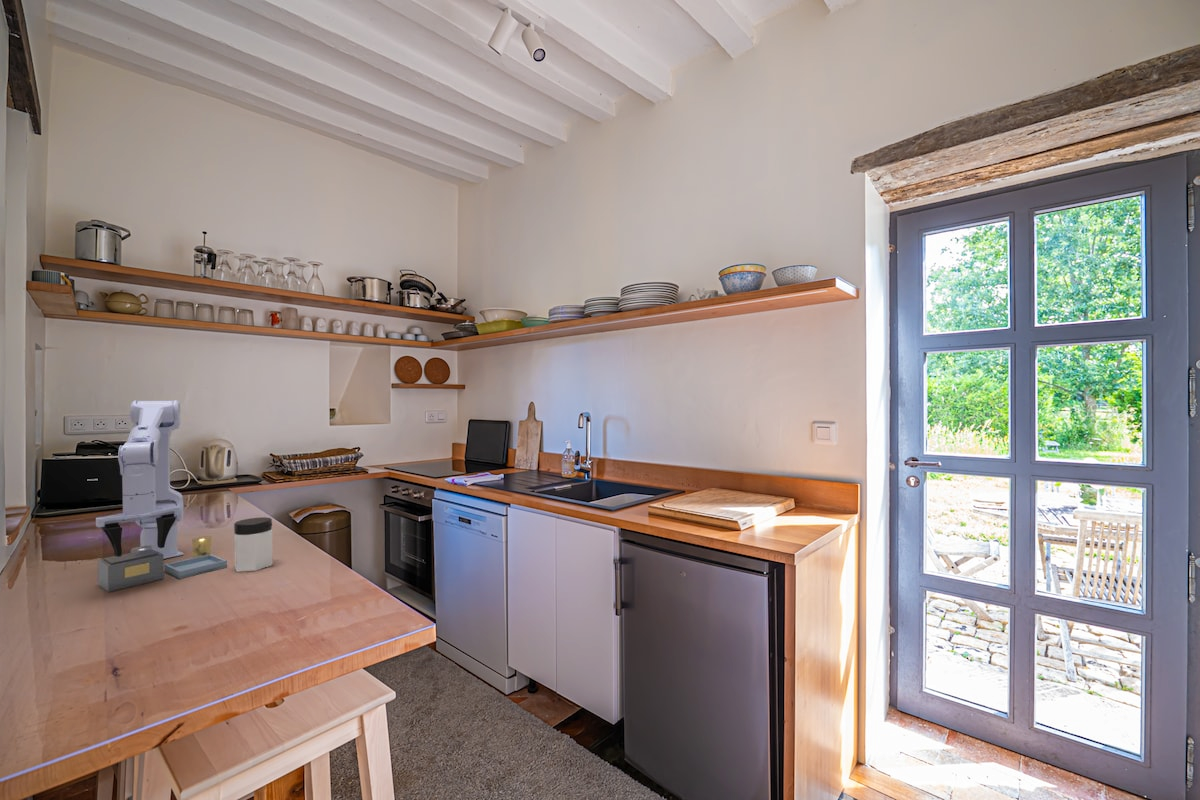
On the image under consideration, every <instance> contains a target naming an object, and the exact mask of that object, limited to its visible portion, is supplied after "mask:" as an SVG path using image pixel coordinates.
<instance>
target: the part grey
mask: <svg viewBox="0 0 1200 800" xmlns="http://www.w3.org/2000/svg"><path fill="white" fill-rule="evenodd" d="M148 549H149V550H150V549H152V546H136V547H132V548H131V549H130V553H133V552H138V551H143V550H148Z"/></svg>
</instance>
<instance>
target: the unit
mask: <svg viewBox="0 0 1200 800" xmlns="http://www.w3.org/2000/svg"><path fill="white" fill-rule="evenodd" d="M164 560H165V559H164V556H163V554H162V553H159V552H157V551H155V550H153V549H150V550H149V549H148V550H143V551H138V552H133V553H131V552H129V553H122V556H119V557H117V556H115V555H113V556H109V557H104V558H101V559H97V586H98V587H100V588H101V589H103V590H105V592H108V593H111V592H115V591H118V590H123V589H127V588H131V587H135V586H139V585H144V584H147V583H151V582H155V581H156V582H157V581H159V580H161V581H162V580H164V578H165V572H164V564H165V563H164Z"/></svg>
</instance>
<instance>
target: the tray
mask: <svg viewBox="0 0 1200 800" xmlns="http://www.w3.org/2000/svg"><path fill="white" fill-rule="evenodd" d="M225 568H228V560H227V559H224V558H222V557H220V556H216V555H214V554H212V553H211V554H210V555H205V556H201V557H196V558H193V557H191V558H186V559H183V560H178V561H174V562H171V563H170V562H169V563H164V573H166V574H169V575H171V576H173V577H175V578H176V579H179V580H180V579H184V578H189V577H193V576H197V575H200V574H201V575H202V574H204V573H205V574H206V573H208V572H213V571H218V570H221V569H225Z"/></svg>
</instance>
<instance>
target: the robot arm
mask: <svg viewBox="0 0 1200 800" xmlns="http://www.w3.org/2000/svg"><path fill="white" fill-rule="evenodd" d="M129 417H130V418H129V419H130V421H131V422H132V424H133V425H134V426H133V427H132V429H131V430H130V432H129V435H128V437H127V439H126V442H125V443H124V444H123V445H122V444H120V446H119V447H118V452H117V454H118V455H117V461H118V464H119V470H120V471H119V474H120V476H122V477H121V478H122V481H121V482H122V513H121V512H120V513H116V514H110V515H107V516H106V515H105V516H100V517H95V527H96V528H101V529H102V531H103V532H104V534H105V535H106V537H107V538H108V541H109V542H110V544H111V547H112V549H113V553H114V556H117V557H119V556H122V555H123V550H122V533H123V527H121V525H120V524H125V523H132V522H135V524H136V525H137V526H138V527H141V528H140V529H142V530H141V531H140V537H139V538H140V541H139V543H140V546H152V549H153V550H155V551H157V552H159V553H162V554H163V556H164V560H165V559H169V558H174V557H179V556H183V555H184V552H182V551H180V550H178V523H179V522H181V521H182V520H183V519H184V514H185V513H184V512H185V510H184V508H185V506H184V505H185V504H184V497H183V496H184V495H182V493H181V492H179V491H177V490H175V489H173V488H171V463H170V462H171V451H170V449H171V447H170V445H171V444H170V442H171V441H170V440H171V439H170V438H171V435H172V432H173V431H175V430H177V429H180V426H181V403H180V402H179V400H176V399H174V400H136V399H135V400H133V401H132V402H131V403H130V408H129ZM140 546H139V547H140Z"/></svg>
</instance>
